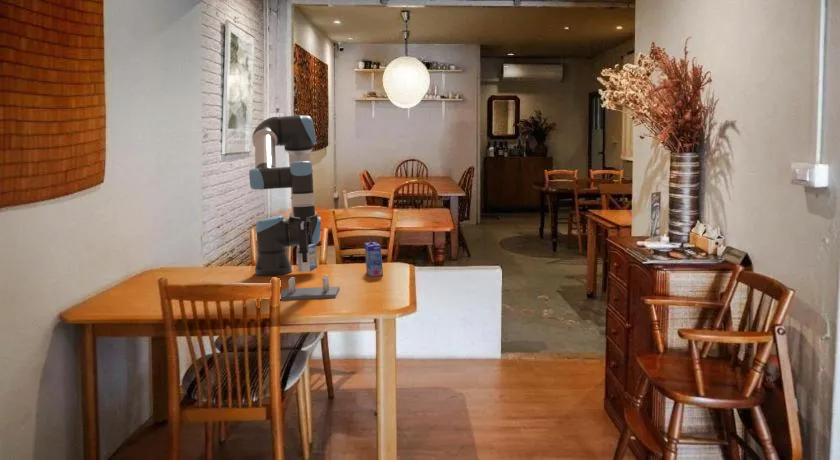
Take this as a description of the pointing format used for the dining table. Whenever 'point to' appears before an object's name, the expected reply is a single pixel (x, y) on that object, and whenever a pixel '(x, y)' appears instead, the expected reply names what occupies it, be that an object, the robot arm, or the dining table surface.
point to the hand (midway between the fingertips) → (307, 269)
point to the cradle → (309, 291)
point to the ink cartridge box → (373, 258)
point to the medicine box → (311, 257)
